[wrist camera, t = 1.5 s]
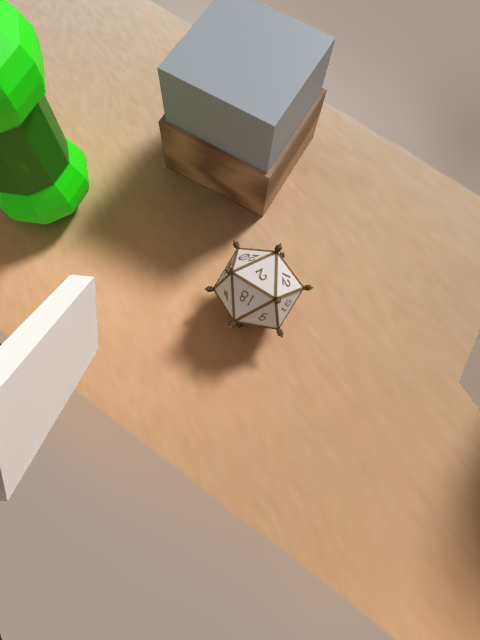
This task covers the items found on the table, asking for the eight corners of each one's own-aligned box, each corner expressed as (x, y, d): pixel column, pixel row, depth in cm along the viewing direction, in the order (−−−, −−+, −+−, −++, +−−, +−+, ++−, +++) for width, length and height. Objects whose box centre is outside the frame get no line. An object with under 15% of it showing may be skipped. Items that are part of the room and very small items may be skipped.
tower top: (320, 92, 44) (335, 37, 38) (267, 173, 41) (274, 126, 35) (224, 46, 45) (225, -14, 39) (165, 121, 42) (157, 67, 36)
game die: (234, 320, 47) (169, 290, 39) (276, 252, 46) (218, 207, 39) (294, 363, 42) (232, 338, 34) (342, 286, 41) (291, 242, 33)
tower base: (312, 138, 51) (326, 90, 44) (262, 218, 47) (269, 178, 40) (221, 94, 52) (222, 40, 45) (166, 168, 48) (158, 121, 42)
